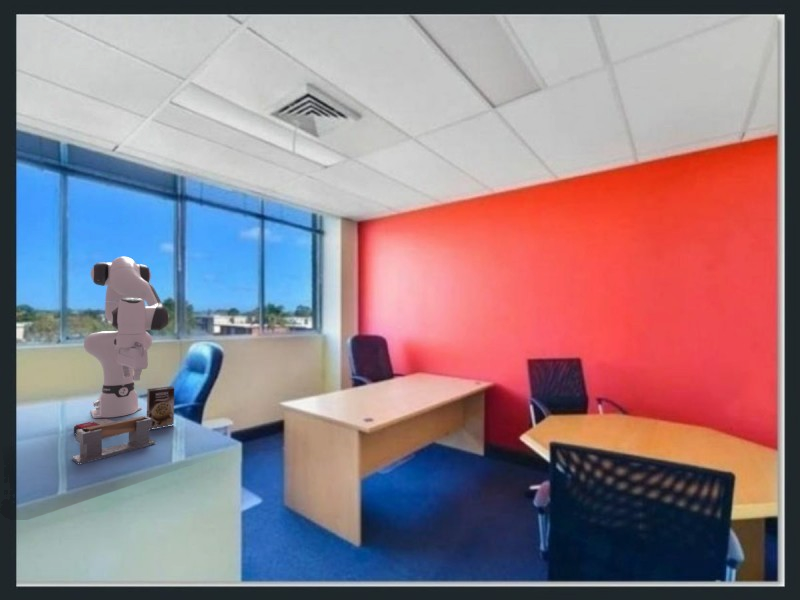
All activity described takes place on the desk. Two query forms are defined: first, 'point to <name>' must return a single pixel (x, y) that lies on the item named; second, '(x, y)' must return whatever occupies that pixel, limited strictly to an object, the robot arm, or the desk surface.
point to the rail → (116, 427)
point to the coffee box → (160, 406)
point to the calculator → (91, 424)
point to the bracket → (93, 446)
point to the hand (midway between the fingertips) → (131, 378)
